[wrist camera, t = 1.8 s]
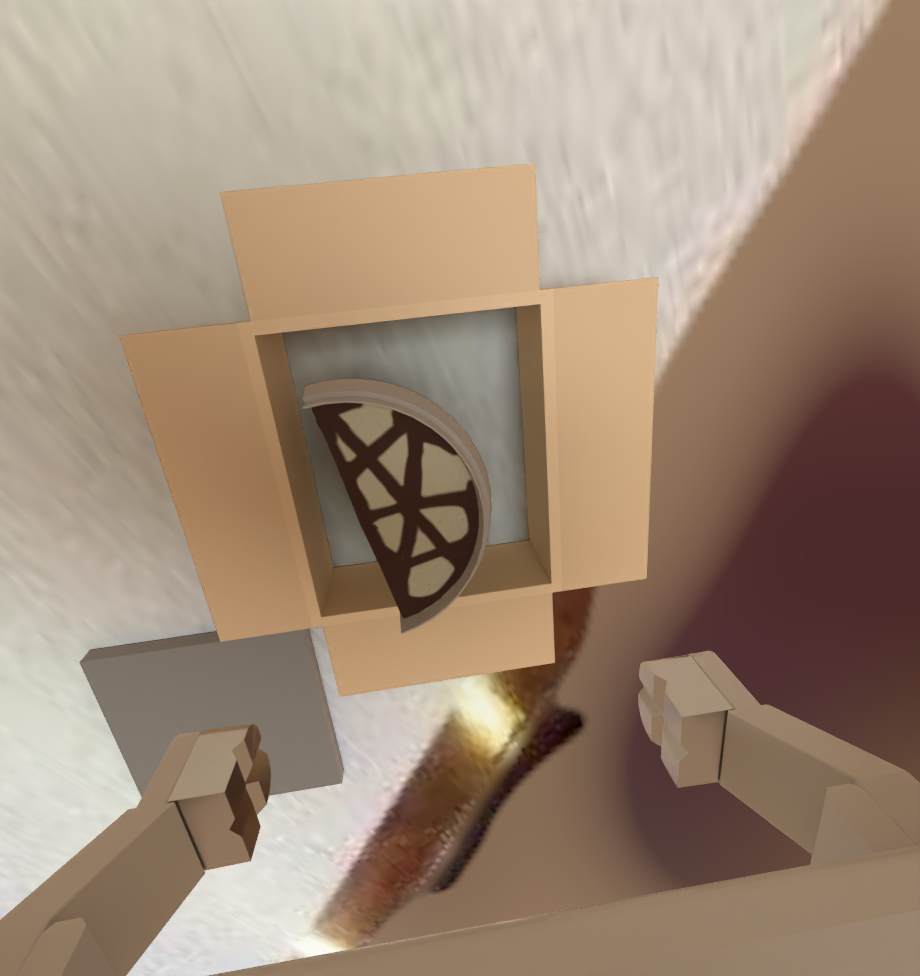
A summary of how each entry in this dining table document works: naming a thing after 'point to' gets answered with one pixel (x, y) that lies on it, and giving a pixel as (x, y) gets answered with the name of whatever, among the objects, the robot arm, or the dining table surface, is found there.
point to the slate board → (219, 701)
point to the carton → (283, 450)
